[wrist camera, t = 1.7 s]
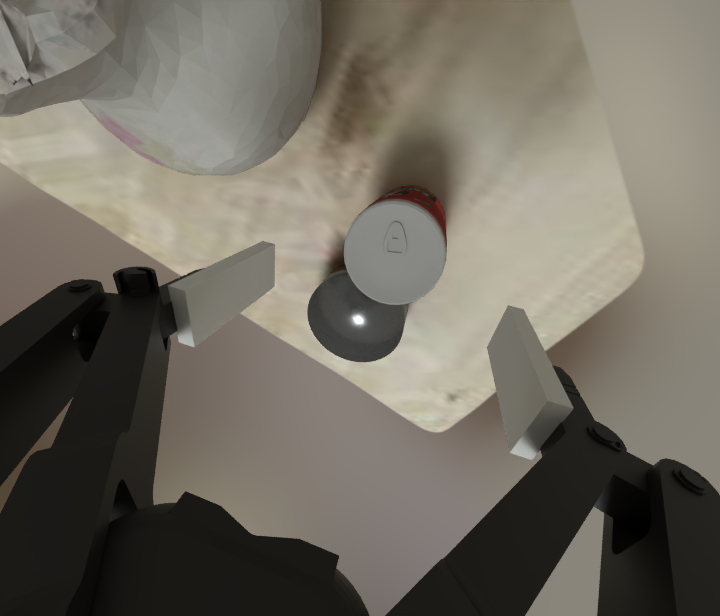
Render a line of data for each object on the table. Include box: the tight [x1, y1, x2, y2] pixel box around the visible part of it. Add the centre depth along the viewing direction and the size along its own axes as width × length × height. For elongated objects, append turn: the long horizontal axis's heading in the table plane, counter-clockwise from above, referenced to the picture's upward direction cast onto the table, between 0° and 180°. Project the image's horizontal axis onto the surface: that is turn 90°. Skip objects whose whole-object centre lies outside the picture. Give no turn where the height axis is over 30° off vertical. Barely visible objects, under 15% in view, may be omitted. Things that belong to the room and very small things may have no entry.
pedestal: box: [308, 264, 408, 362], centre depth 34 cm, size 11×11×5 cm
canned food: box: [344, 185, 447, 305], centre depth 25 cm, size 8×8×11 cm
